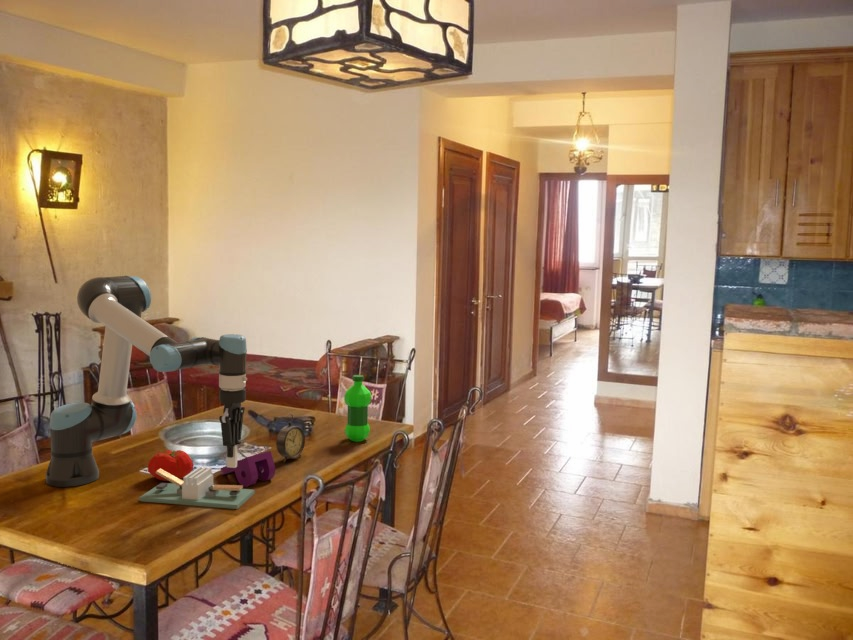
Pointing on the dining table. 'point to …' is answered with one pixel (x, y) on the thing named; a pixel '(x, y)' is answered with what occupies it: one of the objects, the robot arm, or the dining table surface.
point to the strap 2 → (226, 487)
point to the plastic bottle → (357, 410)
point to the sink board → (203, 501)
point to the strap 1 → (170, 477)
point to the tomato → (171, 464)
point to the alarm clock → (290, 441)
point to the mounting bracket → (253, 469)
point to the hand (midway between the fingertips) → (231, 466)
